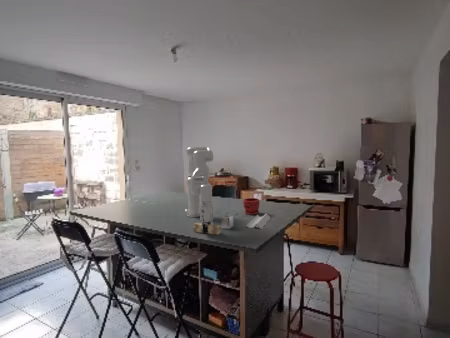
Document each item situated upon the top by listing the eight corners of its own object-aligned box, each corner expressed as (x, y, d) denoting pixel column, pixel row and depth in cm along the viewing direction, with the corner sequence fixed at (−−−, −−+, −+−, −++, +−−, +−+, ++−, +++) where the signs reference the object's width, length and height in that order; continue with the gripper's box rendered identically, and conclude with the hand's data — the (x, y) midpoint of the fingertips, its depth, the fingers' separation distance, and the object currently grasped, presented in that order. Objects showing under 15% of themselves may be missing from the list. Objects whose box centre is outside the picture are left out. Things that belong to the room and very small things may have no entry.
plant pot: (247, 211, 240) (247, 197, 239) (262, 212, 233) (261, 198, 232) (240, 214, 228) (240, 199, 228) (255, 216, 222) (255, 201, 221)
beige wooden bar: (193, 231, 183) (193, 224, 183) (196, 229, 187) (196, 222, 186) (218, 234, 175) (217, 226, 175) (220, 232, 179) (220, 225, 179)
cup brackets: (200, 226, 196) (200, 215, 195) (205, 223, 203) (205, 213, 202) (229, 229, 187) (229, 218, 186) (233, 226, 194) (233, 215, 193)
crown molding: (256, 217, 220) (256, 212, 220) (271, 218, 216) (271, 213, 215) (245, 228, 191) (244, 222, 190) (262, 229, 186) (262, 224, 186)
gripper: (205, 206, 171) (206, 235, 172) (217, 201, 186) (217, 228, 187) (194, 205, 174) (195, 234, 175) (207, 201, 189) (207, 227, 190)
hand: (207, 231), depth 181 cm, fingers closed on beige wooden bar, 4 cm apart
